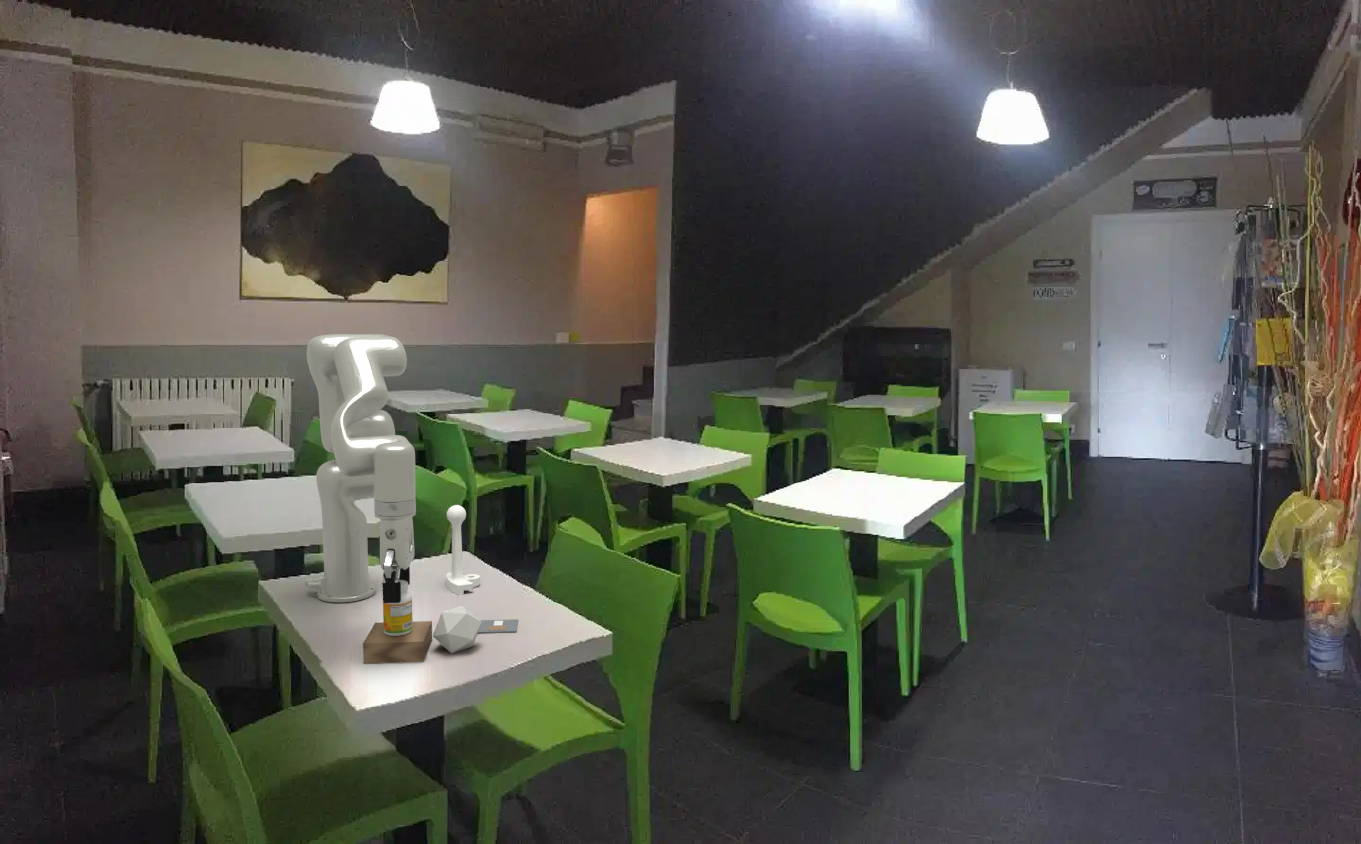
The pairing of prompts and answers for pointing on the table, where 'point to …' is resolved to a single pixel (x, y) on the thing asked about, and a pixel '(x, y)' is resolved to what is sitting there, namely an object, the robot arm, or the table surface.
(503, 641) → the table surface
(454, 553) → the joystick
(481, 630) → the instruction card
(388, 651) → the base block
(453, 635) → the die
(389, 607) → the supplement bottle
